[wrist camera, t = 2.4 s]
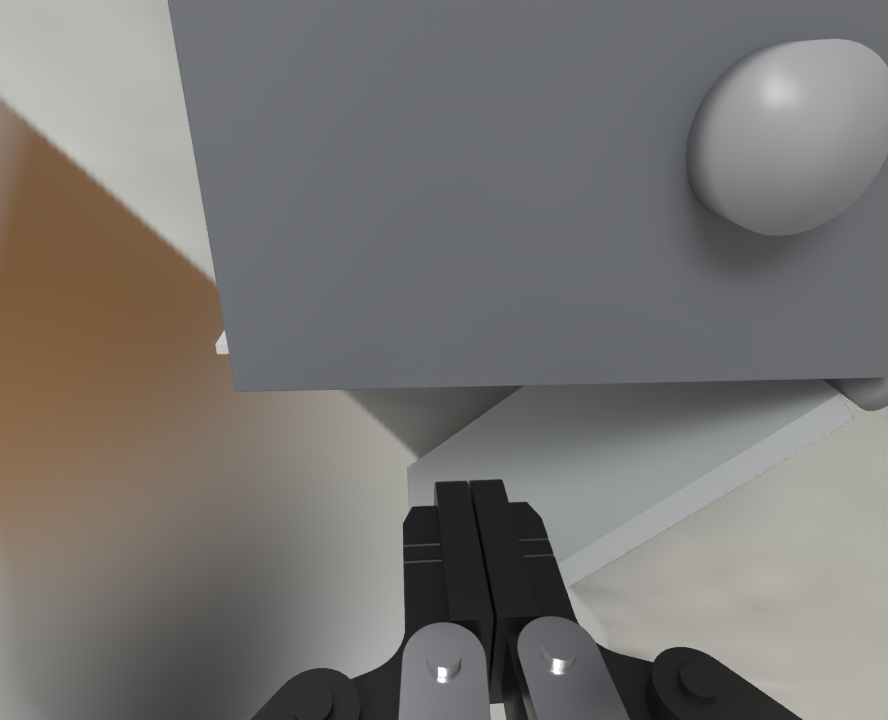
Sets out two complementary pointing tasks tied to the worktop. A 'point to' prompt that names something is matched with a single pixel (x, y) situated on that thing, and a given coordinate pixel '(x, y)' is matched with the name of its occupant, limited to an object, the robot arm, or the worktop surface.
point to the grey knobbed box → (541, 189)
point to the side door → (635, 452)
